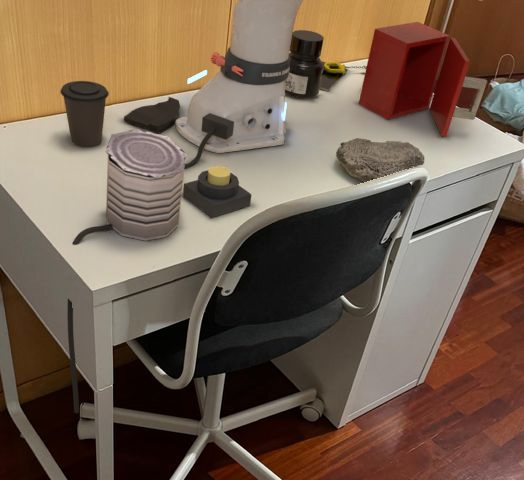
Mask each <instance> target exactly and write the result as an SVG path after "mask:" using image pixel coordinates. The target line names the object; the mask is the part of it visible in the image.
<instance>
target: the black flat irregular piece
mask: <svg viewBox="0 0 524 480" xmlns="http://www.w3.org/2000/svg"><path fill="white" fill-rule="evenodd" d="M180 109H181V104H180V101H179V99H177V98H174V97H172V96H171V97H170V96H168V98H167V100H165V101H161V102H158V103H156V104H149V105H143V106H140V107H136V108H135V109H133V110H131V111H130V112H128V114H125V116H124V117H123V121H124V122H127V123H129V124H132V125H133V126H136V127H139V128H143V129H145V130H149V131H150V132H152V133H155V134H161V133H163V132H165V131H167V130H169V129H171V128H173V126H175V121H176V119H179V118H180Z"/></svg>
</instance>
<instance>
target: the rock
mask: <svg viewBox="0 0 524 480" xmlns="http://www.w3.org/2000/svg"><path fill="white" fill-rule="evenodd" d="M339 145H340V146H339V147H338V149H337V151H336V153H335V156H336V159H337V161H338V162H340V165H341V166H343V167H344V169H345V170H346V172H347V173H348V174H349V175H350V176H351V177H353V178H355V179H358V180H360V182H364V183H366V182H367V181H370V180H373V179H377V178H380V177H384V176H387V175H390V174H393V173H396V172H399V171H402V170H405V169H407V170H409V169H410V168H413V167H414V168H416V167H419V166H423V165H424V164H425V155H424V154H423V152H422V151H421V150H420V149H419V147H416V146H414V145H413V144H411V143H410V142H408V141H405V142H404V141H401V140H400V141H395V140H386V141H382V142H381V141H372V140H370V139H367V138H359V137H356V138H352V139H350V140H348V141H342V142H340V144H339Z"/></svg>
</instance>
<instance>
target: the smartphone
mask: <svg viewBox="0 0 524 480" xmlns="http://www.w3.org/2000/svg"><path fill="white" fill-rule="evenodd" d="M321 61H322V62H323V65H324V64H325V63H327V62H325V61H323V60H321ZM348 71H349V69H348V68H346V69H345V73H333V72H329V71H327V70H324V69H323V74H322V79H321V85H320V90H322V91H326V92H329V91H330V90H332V88H333V87H334V86H335V85H336V84H337V83H338V82H339V80H340V79H342V78H343V76H345V75H346V73H347V72H348Z"/></svg>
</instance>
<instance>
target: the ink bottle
mask: <svg viewBox="0 0 524 480" xmlns="http://www.w3.org/2000/svg"><path fill="white" fill-rule="evenodd" d="M324 40H325V39H324V36H323V35H322V34H321V33H319V32H315V31H313V30H306V29H298V30H293V34H292V39H291V45H290V51H289V56H290V70H289V75H288V78H287V79H286V82H285V95H286V96H289V97H292V98H296V99H313V98H315V97H318V95H319V94H320V90H321V89H320V85H321V79H322V74H323V68H324V65H323V62H324V61H323V60H321V58H320V57H321V55H322V49H323V45H324ZM322 61H323V62H322Z"/></svg>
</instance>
